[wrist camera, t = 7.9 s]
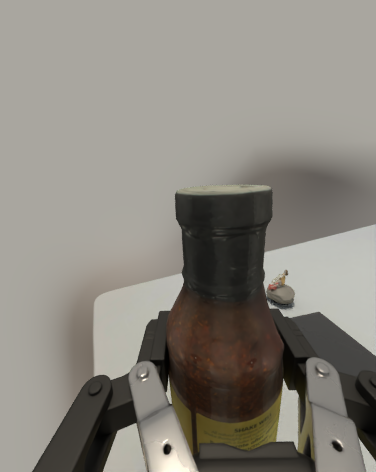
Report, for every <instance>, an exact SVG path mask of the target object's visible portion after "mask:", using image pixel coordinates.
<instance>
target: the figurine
mask: <svg viewBox="0 0 376 472" xmlns="http://www.w3.org/2000/svg"><path fill="white" fill-rule="evenodd" d="M282 275H283V277H282V278H281V277H280V274H279V276H278V277H280V278H277V279H278V280H277V279H276V278H275V279H274V280H275V281H276V280H277V281H276V282H273V281H272V282H271V283H274V284H272V285H270V284H269V287H268V288H267V296H268V298H269V299H272V300H274V301H275V302H277V303H282V304H289V303H293V301H294V299H293V298H294V295H295V293H294V290H293V289H292V288H291V287H290V286H288V285H285V284H284V283H285V276H287V275H288V272H287V270H285V271H284V273H283V274H282Z"/></svg>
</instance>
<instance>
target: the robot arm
mask: <svg viewBox="0 0 376 472" xmlns="http://www.w3.org/2000/svg"><path fill="white" fill-rule="evenodd" d="M270 312H271V315H272V318H273V321H274V324H275V327H276V329H277V332H278V334H279V335H280V338H281V340H282V342H283V344H284V351H283V378H284V381H285V383H286V385H287V387H288V389H289V390H297V393H298V395H299V397H298V450H296V447H295V445H294V442H269V443H266V444H264V445H261V446H259V447H257V448H254V449H252V450H249V451H247V450H243V449H240V448H237V447H234V446H231V445H227V444H224V443H199V452H198V453H195V454H193V455H192V453H191V451H190V448H189V445H188V443H187V440H186V438H185V435H184V433H183V430H182V427H181V425H180V422H179V420H178V417H177V415H176V412H175V410H174V407H173V405H172V404H170V403H169V401H168V398H167V396H166V393H165V392H167V386H168V375H169V373H168V366H169V353H168V347H167V336H166V327H167V319H168V315H169V313H170V311H160V312H159V316H158V319H154V320H151V321H150V322H149V323H148V325H147V326H146V330H145V334H144V337H143V341H142V345H141V349H140V352H139V356H138V360H137V363H136V365H135V366H134V367H133V368H132V369H131V370H130V372H129V373H128V374H126V375H124V376H122V377H119V378H116V379H113V380H110V378H109V377H108V376H106V375H98V376H95V377H93V378H91V379H90V380H89V381H87V382H86V384H85V385H84V386H83V387H82V389H81V391H80V392H79V394H78V396H77V397H76V399H75V401H74V402H73V404H72V406H71V407H70V409H69V411H68V413H67V414H66V416H65V417H64V419H63V421H62V423H61V424H60V426H59V428H58V429H57V431H56V433H55V435H54V436H53V438H52V440H51V441H50V443H49V445H48V446H47V448H46V450H45V451H44V453H43V455H42V456H41V458H40V460H39V461H38V463H37V465H36V466H35V468H34V470H33V471H32V472H103V469H104V466H105V464H106V461H107V458H108V455H109V453H110V450H111V447H112V444H113V442H114V439H115V436H116V433H117V431H118V430H120V429H123V428H125V427H127V426H130V425H132V424H134V423H137V428H138V432H139V437H140V442H141V446H142V451H143V455H144V460H145V465H146V470H147V472H366V469H365V464H364V460H363V456H362V452H361V447H360V443H359V439H360V440H361V442H362V443H363V444H364V446H365V447H366V448H367V450H368V451H369V453H370V454H371V455H372V457H373V458H374V459H375V461H376V373H375V372H372V371H368V370H363V371H360V372H359V374H358V377H356V376H353V375H349V374H345V373H341V372H338V371H337V370H336V369H335V368H334V367H333V366H332V365H331V364H330V363H328V362H327V361H325V360H323V359H320V358H319V356H318V355H317V353H316V352H315V351H314V349H313V348H312V346H311V345H310V343H309V342H308V341H307V339H306V338H305V337H304V335H303V333H302V332H301V331H300V329H299V328H298V326H297V325H296V323H295V322H294V321H292V320H291V319H290V318H289V317H283V315H282V314H281V312H280V310H279V309H270ZM358 437H359V439H358Z"/></svg>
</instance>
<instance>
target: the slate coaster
mask: <svg viewBox="0 0 376 472" xmlns="http://www.w3.org/2000/svg"><path fill="white" fill-rule="evenodd" d="M290 319H291V320H292V321H294V322H295V323H296V325H297V326H298V328H299V329H300V331H301V332H302V333H303V335H304V337H305V338H306V339H307V341H308V342H309V343H310V345H311V346H312V348H313V349H314V351H315V352H316V353H317V355H318V356H319V358H320V359H323V360H325V361H327V362H328V363H330V364H331V365H332V366H333V367H334V368H335V369H336V370H337V371H338V372H341V373H345V374H349V375H353V376H356V377H358V374H359V372H360V371H363V370H368V371H372V372H375V373H376V356H375V355H373V354H372V353H371V352H370V351H368V350H367V349H366V348H365V347H363V346H362V345H361V344H359V343H358V342H357V341H356V340H354V339H353V338H352V337H351V336H349V335H348V334H347V333H345V332H344V331H343V330H342V329H340V328H339V327H338V326H337V325H335V324H334V323H333V322H331V321H330V320H329V319H328V318H326V317H325V316H324V315H323V314H321V313H320V312H316V313H311V314H307V315H302V316H298V317H293V318H290Z"/></svg>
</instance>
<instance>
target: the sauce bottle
mask: <svg viewBox="0 0 376 472" xmlns="http://www.w3.org/2000/svg"><path fill="white" fill-rule="evenodd" d="M175 202H176V203H175V208H176V219H177V221H178V223H179V225H180V227H181V229H182V244H183V259H184V267H183V270H182V275H183V278H184V283H183V287H182V289H181V291H180V293H179V295H178V297H177V299H176V301H175V303H174V305H173V307H172V309H171V311H170V313H169V315H168V319H167V327H166V336H167V347H168V353H169V366H168V373H169V381H170V390H171V398H172V405H173V407H174V410H175V412H176V415H177V417H178V420H179V422H180V425H181V427H182V430H183V433H184V435H185V438H186V440H187V443H188V445H189V448H190V451H191V453H192V455H193V454H195V453H198V452H199V443H224V444H227V445H231V446H234V447H237V448H240V449H243V450H247V451H249V450H252V449H254V448H257V447H259V446H261V445H264V444H266V443H269V442H276V437H277V429H278V421H279V413H280V404H281V396H282V386H283V351H284V344H283V342H282V340H281V338H280V335H279V334H278V332H277V329H276V327H275V324H274V321H273V318H272V315H271V312H270V309H269V306H268V303H267V299H266V294H265V289H264V284H263V281H264V278H265V272H264V269H263V262H264V246H265V235H266V233H265V232H266V228H267V225H268V223H269V222H270V220H271V218H272V189H271V188H270V187H269V186H262V185H219V186H200V187H190V188H184V189H180V190H179V191H177V192H176V194H175Z"/></svg>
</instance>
